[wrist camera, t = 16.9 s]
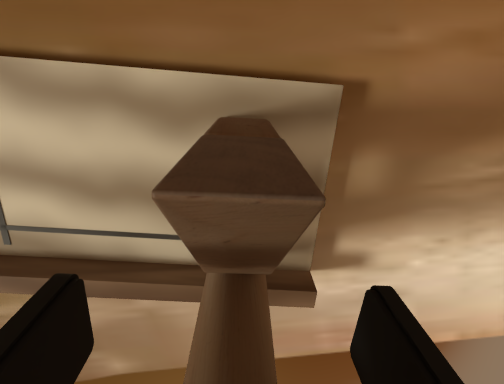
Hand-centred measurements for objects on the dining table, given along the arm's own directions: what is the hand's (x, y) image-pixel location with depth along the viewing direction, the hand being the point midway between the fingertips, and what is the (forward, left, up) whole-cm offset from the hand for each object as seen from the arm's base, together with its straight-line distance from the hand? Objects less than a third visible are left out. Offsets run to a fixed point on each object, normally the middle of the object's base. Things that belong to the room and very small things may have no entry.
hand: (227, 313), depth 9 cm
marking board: (0, -8, -14) cm, 16 cm away
